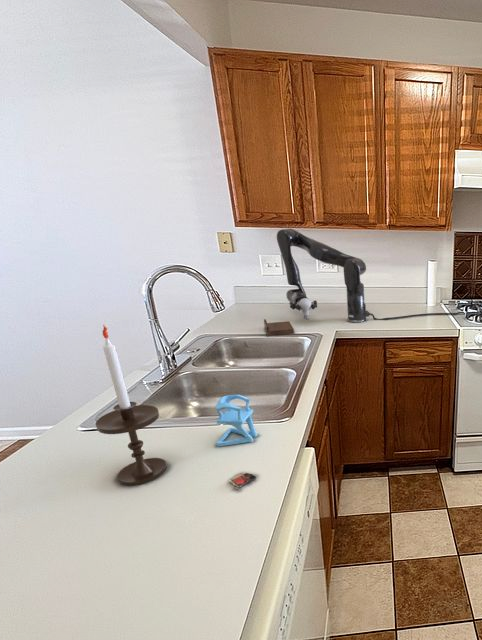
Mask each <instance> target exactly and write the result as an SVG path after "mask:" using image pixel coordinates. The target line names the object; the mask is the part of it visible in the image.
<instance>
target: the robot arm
mask: <svg viewBox="0 0 482 640" xmlns="http://www.w3.org/2000/svg"><path fill="white" fill-rule="evenodd" d="M276 242H277V245H278V248H279V251H280V255H281V257H282V262H283V265H284V268H285V273H286V280H287V284H288V286H294V287H297V288H291V289H288V290H287V291H286V293H285V295H286V299H287V301H288V303H289V308H290V309H292V310H298V311H302V309H301V308H300V306H299V302H300V300H301V299H303V298H307V299H309V298H308V296H307V293H306V291H305V288H304V287H303V284H302V281H301V274H300V268H299V266H298V264H297V263H296V261H295V259H294V257H293V255H292V247H296V248H299V249H301V250H304V251H305V252H307V254H308V255H309V256H310V257H311V258H313V259H314V260H317V261H319V262H321V263H324V264H327V265H333V266H337V267H338V266H339V267H341V268H343V279H344V284H345V285H344V286H345V288H346V309H347V322H350V323H362V322H367V317H369V318H370V316H371V317H372V319H373V320H375V321H388V320H396V319H397V320H398V319H404V318H412V317H421V316H422V317H423V316H436V315H439V316H441V315H442V316H443V315H449V316H450V315H452V316H453V315H455V316H456V315H460V314H464V315H465V313H466V312H465V311H457V312H430V313H429V312H428V313H427V312H426V313H418V314H417V313H416V314H407V315H400V316H393V317H384V318H378V317H375V315H374V314H373V313H371V312H370V311H368V310H367V308H366V307H367V304H366V302H365V285H364V283H363V282H361V276H362V275H364V274H365V273H366V271H367V265H366V263H365V261H364V260H363V259H361V258H360V257H356V256H353V255H349V254H347V253H344V252H342V251H340V250H338V249H336V248H335V247H332V246H329V245H327V244H325V243H323V242H320V241H318V240H315V239H314V238H310V237H308V236H306V235H304V234H302V233H301V232H299V231H298V230H296V229H293V228H284V229H280V230H278V231H277V233H276ZM311 303H312V306H311V308H310V309H311V310H315V309H316V308H318V301H317V300H313V301H311ZM464 312H465V313H464Z"/></svg>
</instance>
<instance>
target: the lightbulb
mask: <svg viewBox="0 0 482 640" xmlns="http://www.w3.org/2000/svg"><path fill="white" fill-rule="evenodd" d="M307 298H308V297H307ZM307 298H303V299H301V300H300V302H299V306H300V308H301V309H302V310H301V311H302V314H303V319H305V320H309V319H310V311H311V309H312V308H311V306H312V303H311V302H312V301H311V299H309V298H308V299H307Z"/></svg>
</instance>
